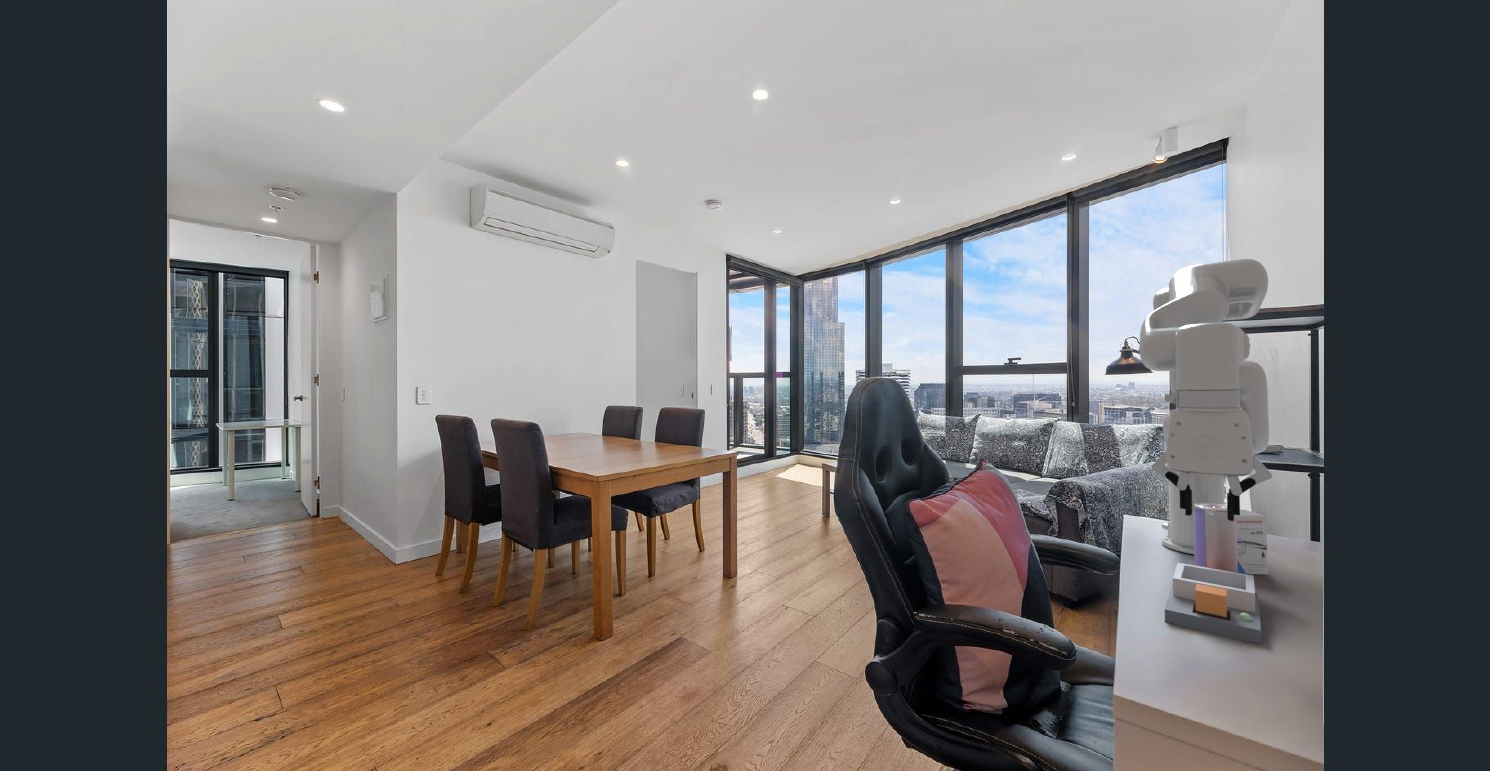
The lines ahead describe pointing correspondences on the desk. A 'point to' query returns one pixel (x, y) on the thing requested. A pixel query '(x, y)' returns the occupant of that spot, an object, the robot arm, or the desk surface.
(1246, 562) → the ink box
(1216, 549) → the beverage can
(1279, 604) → the desk surface
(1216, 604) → the button
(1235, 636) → the panel
